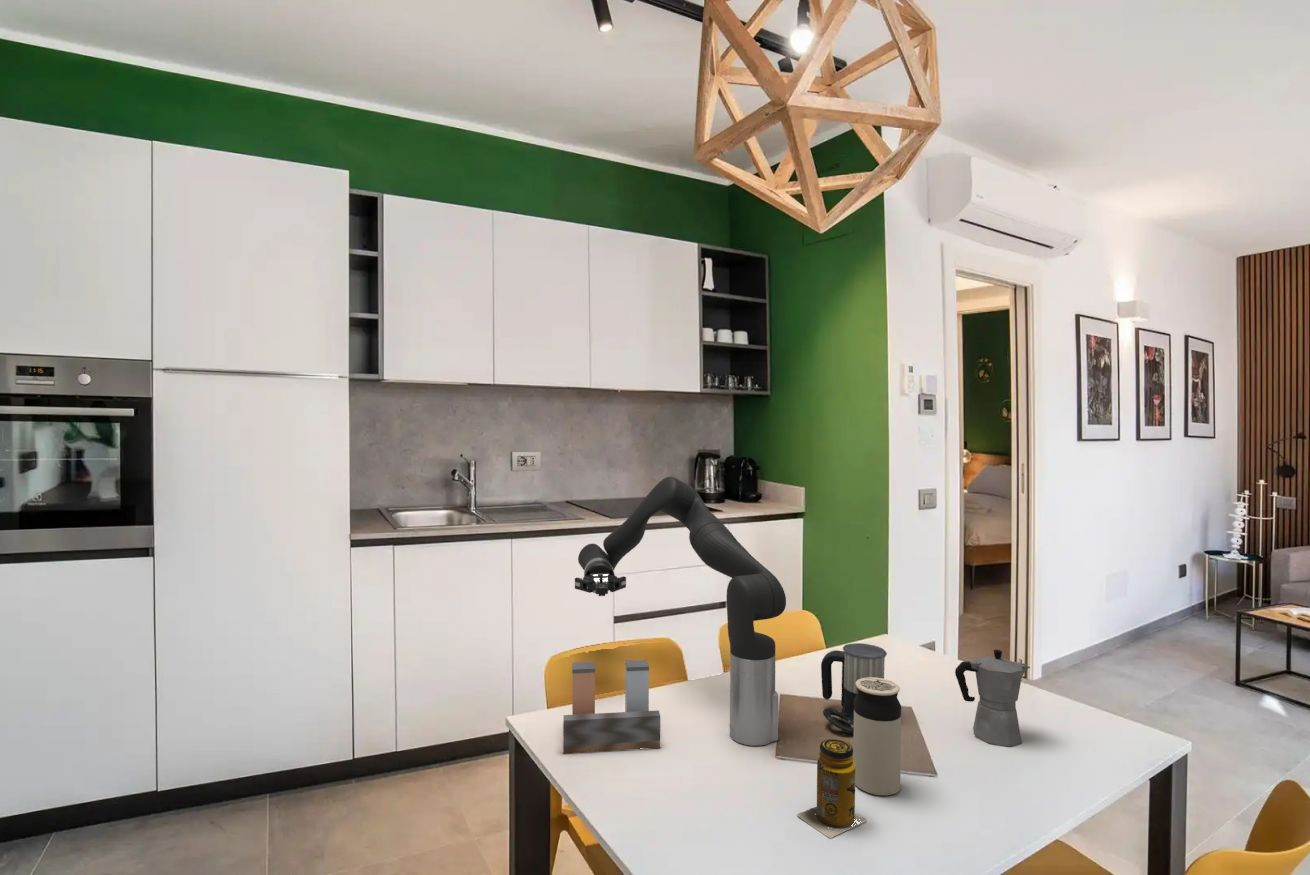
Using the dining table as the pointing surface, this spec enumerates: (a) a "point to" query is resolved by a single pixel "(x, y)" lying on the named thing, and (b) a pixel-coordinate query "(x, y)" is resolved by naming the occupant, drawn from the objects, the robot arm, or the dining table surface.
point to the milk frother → (850, 678)
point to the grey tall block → (636, 685)
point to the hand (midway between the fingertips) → (602, 591)
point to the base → (611, 731)
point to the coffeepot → (994, 698)
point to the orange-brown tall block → (583, 688)
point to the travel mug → (877, 736)
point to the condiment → (834, 790)
